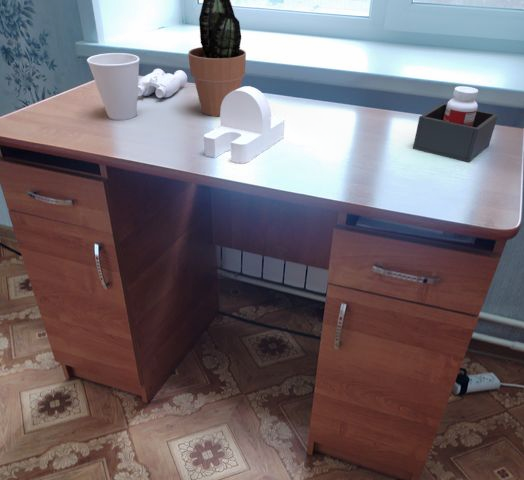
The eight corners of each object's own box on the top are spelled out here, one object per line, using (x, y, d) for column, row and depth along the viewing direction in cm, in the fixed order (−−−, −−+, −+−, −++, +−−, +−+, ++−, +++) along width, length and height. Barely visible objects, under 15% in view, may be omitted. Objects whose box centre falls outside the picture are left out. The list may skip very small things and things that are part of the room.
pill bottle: (432, 141, 112) (444, 86, 105) (454, 137, 114) (468, 84, 107) (450, 150, 108) (464, 94, 100) (472, 146, 110) (488, 91, 102)
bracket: (244, 164, 102) (244, 104, 94) (202, 155, 105) (198, 96, 98) (285, 136, 115) (288, 81, 107) (246, 128, 118) (246, 74, 110)
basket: (488, 145, 112) (498, 114, 108) (469, 162, 105) (478, 129, 100) (435, 133, 118) (442, 103, 113) (412, 148, 110) (419, 116, 106)
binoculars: (188, 86, 144) (186, 68, 141) (168, 102, 133) (166, 83, 129) (153, 84, 146) (151, 66, 143) (131, 99, 134) (128, 80, 131)
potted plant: (182, 114, 125) (172, -8, 108) (207, 100, 135) (201, -15, 118) (232, 122, 121) (229, -4, 105) (254, 107, 131) (255, -11, 114)
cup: (105, 107, 129) (95, 52, 120) (151, 108, 128) (144, 53, 120) (91, 122, 120) (79, 63, 111) (141, 124, 119) (132, 65, 111)
